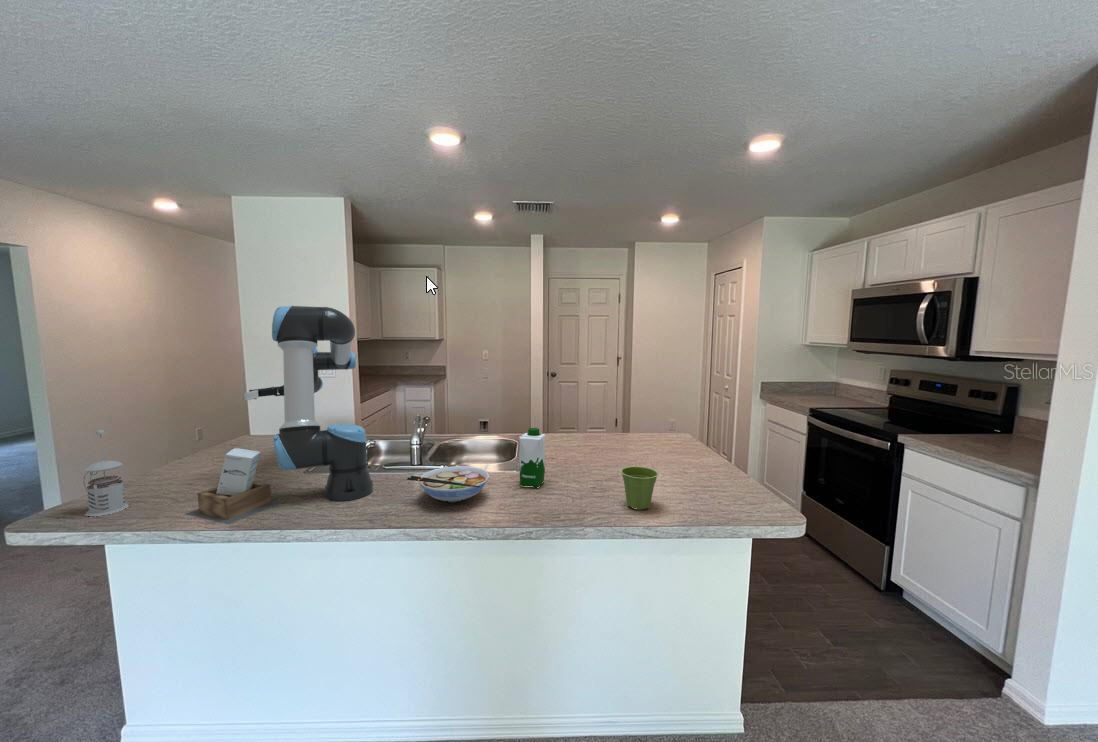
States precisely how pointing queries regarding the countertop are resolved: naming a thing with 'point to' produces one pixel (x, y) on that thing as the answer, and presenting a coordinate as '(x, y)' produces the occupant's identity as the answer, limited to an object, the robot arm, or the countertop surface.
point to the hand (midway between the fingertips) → (266, 396)
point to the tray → (234, 501)
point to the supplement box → (238, 471)
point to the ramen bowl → (453, 482)
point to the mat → (226, 521)
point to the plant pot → (639, 485)
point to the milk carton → (532, 458)
